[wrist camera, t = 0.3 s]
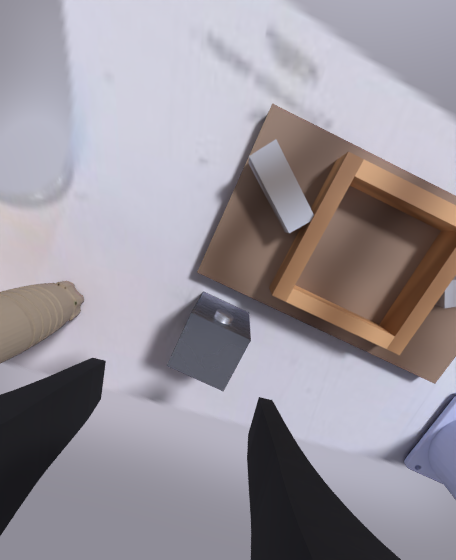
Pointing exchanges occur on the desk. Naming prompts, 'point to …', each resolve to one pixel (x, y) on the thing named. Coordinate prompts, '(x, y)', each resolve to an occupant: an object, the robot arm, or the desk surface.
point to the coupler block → (212, 341)
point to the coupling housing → (342, 245)
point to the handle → (34, 314)
